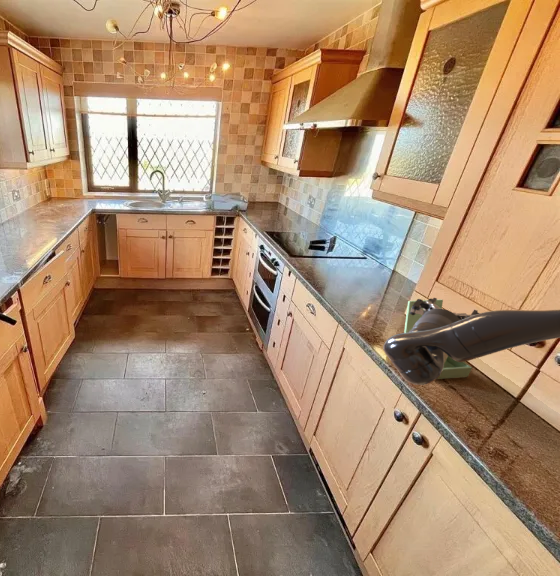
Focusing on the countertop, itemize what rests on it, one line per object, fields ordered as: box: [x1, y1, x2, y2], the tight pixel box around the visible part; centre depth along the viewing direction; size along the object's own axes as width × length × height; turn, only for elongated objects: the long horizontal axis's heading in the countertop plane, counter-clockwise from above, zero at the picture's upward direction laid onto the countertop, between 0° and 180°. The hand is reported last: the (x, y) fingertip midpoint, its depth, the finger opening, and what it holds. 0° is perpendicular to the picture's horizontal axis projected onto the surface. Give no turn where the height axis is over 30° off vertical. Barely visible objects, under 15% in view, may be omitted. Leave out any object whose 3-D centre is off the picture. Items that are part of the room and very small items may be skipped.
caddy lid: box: [403, 298, 444, 333], centre depth 103 cm, size 14×11×4 cm
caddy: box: [436, 356, 473, 380], centre depth 98 cm, size 13×11×4 cm
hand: (453, 306), depth 82 cm, fingers open, 8 cm apart
